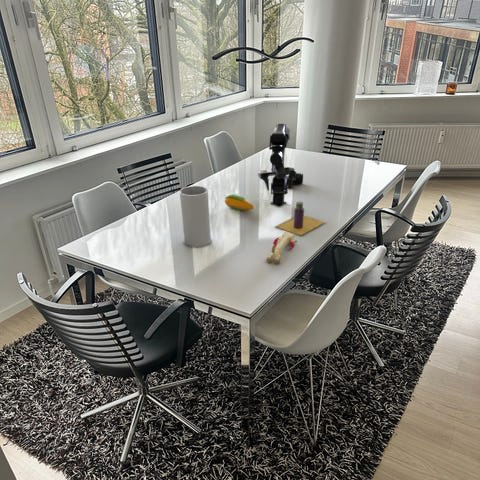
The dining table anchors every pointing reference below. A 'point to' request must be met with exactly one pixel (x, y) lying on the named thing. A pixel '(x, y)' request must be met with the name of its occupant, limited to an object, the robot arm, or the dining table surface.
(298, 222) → the pepper mill
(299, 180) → the film camera
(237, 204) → the corn
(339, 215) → the dining table surface
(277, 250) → the beige elongated piece
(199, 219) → the cylinder vase
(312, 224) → the mustard yellow board
